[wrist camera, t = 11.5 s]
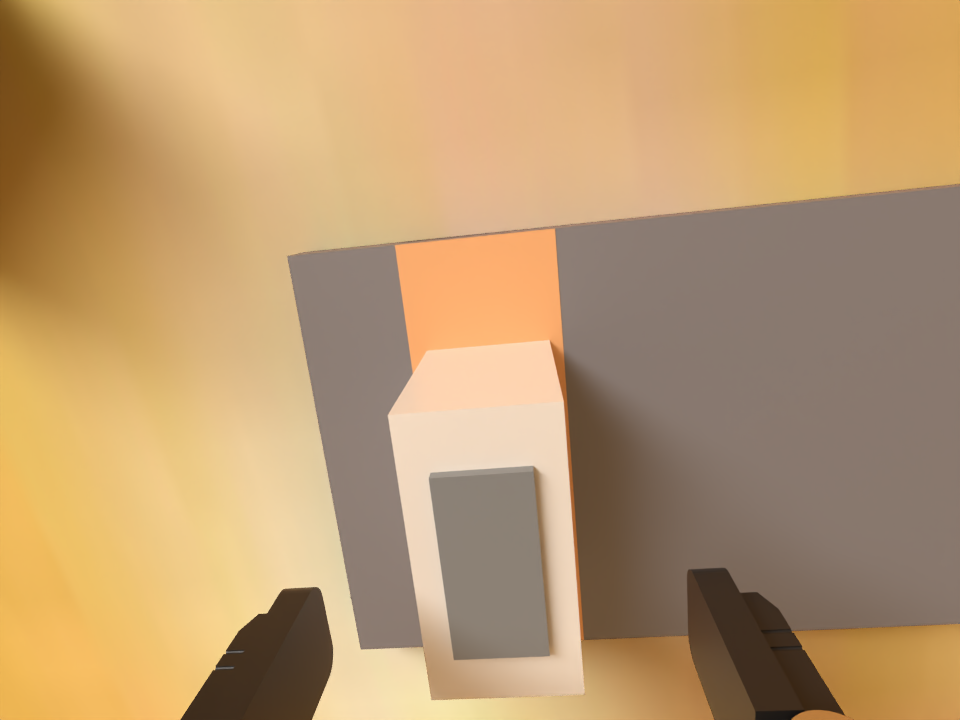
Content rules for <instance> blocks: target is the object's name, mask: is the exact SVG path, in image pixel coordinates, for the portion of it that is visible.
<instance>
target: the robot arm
mask: <svg viewBox="0 0 960 720" xmlns="http://www.w3.org/2000/svg"><path fill="white" fill-rule="evenodd" d="M687 606H688V636H689V644H690V649H691V654H692V658H693V662H694V665H695V668H696V670H697V673H698V676H699V679H700V681H701V684H702V687H703V689H704V692H705V695H706V698H707V700H708V703H709V706H710V709H711V711H712V714H713V717H714V719H715V720H853V719H851V718H849V717H847V716H845V715H844V713H843V711H842V710H841V708H840V707H839V705H838V703H837V702H836V700H835V699H834V697H833V695H832V694H831V692H830V691H829V689H828V687H827V686H826V684H825V682H824V681H823V679H822V678H821V676H820V674H819V673H818V671H817V670H816V668H815V666H814V665H813V663H812V662H811V660H810V658H809V657H808V655H807V654H806V652H805V650H802V646H801V644H800V642H799V641H798V639H797V638H796V636H795V634H794V633H792V631H791V628H790V626H789V625H788V623H787V621H786V620H785V618H784V617H783V615H782V613H781V612H780V610H779V609H778V608H777V607H776V606H774V605H773V604H772V603H771V602H769V601H768V600H767V599H765V598H764V597H763V596H762V595H760V594H759V593H758V592H745V593H740V592H739V590H738V588H737V586H736V584H735V582H734V581H733V579H732V577H731V575H730V573H729V572H728V570H727V569H726V568H705V569H689V570H688V572H687ZM332 662H333V645H332V640H331V635H330V630H329V625H328V621H327V616H326V611H325V606H324V601H323V597H322V593H321V591H320V589H319V588H317V587H311V588H291V589H284V590H282V591H281V592H280V594H279V595H278V597H277V599H276V600H275V602H274V604H273V605H272V607H271V608H270V610H269V612H268V613H267V614H258V615H257V616H256V617H255V618H254V619H253V620H251V621H250V622H249V623H248V624H247V625H246V626H244V627H243V628H242V629H241V630H240V631H239V632H238V633H237V635H236V636H235V638H234V639H233V641H232V642H231V644H230V645H229V647H228V648H227V650H226V654H224V655H223V656H222V658H221V659H220V661H219V662H218V664H217V665H216V669H215V670H213V671H212V673H211V674H210V676H209V677H208V679H207V680H206V682H205V683H204V685H203V686H202V688H201V689H200V691H199V692H198V694H197V696H196V697H195V699H194V700H193V702H192V703H191V705H190V706H189V708H188V709H187V711H186V712H185V714H184V715H183V717H182V718H181V720H312V718H313V715H314V713H315V711H316V708H317V706H318V703H319V701H320V698H321V696H322V693H323V691H324V688H325V686H326V684H327V681H328V679H329V676H330V673H331V669H332Z"/></svg>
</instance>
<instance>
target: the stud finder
mask: <svg viewBox="0 0 960 720" xmlns="http://www.w3.org/2000/svg"><path fill="white" fill-rule="evenodd" d="M388 420H389V427H390V433H391V440H392V446H393V453H394V459H395V466H396V472H397V479H398V485H399V492H400V498H401V505H402V511H403V518H404V524H405V531H406V537H407V544H408V550H409V557H410V563H411V570H412V576H413V583H414V589H415V596H416V602H417V609H418V615H419V622H420V628H421V635H422V641H423V648H424V654H425V661H426V667H427V674H428V680H429V687H430V693H431V700H448V699H477V698H506V697H535V696H564V695H585V692H584V678H583V664H582V650H581V636H580V622H579V608H578V594H577V580H576V566H575V552H574V538H573V524H572V510H571V496H570V482H569V468H568V454H567V440H566V426H565V412H564V401H563V396H562V392H561V388H560V383H559V379H558V375H557V370H556V366H555V362H554V357H553V353H552V349H551V345H550V340H544V341H532V342H521V343H509V344H498V345H486V346H475V347H463V348H452V349H441V350H429V351H426V353H425V355H424V356H423V358H422V360H421V361H420V363H419V365H418V366H417V368H416V370H415V371H414V373H413V374H412V376H411V378H410V379H409V381H408V383H407V384H406V386H405V388H404V389H403V391H402V393H401V394H400V396H399V397H398V399H397V401H396V402H395V404H394V406H393V407H392V409H391V411H390V412H389V414H388Z"/></svg>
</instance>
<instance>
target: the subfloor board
mask: <svg viewBox="0 0 960 720" xmlns="http://www.w3.org/2000/svg"><path fill="white" fill-rule="evenodd" d="M287 257H288V262H289V267H290V273H291V278H292V284H293V289H294V294H295V300H296V305H297V310H298V316H299V321H300V326H301V332H302V337H303V342H304V348H305V353H306V358H307V364H308V369H309V375H310V380H311V385H312V391H313V396H314V401H315V407H316V412H317V417H318V423H319V428H320V433H321V439H322V444H323V450H324V455H325V460H326V466H327V471H328V476H329V482H330V487H331V492H332V498H333V503H334V508H335V514H336V519H337V524H338V530H339V535H340V541H341V546H342V551H343V557H344V562H345V567H346V573H347V578H348V583H349V589H350V594H351V599H352V605H353V610H354V615H355V621H356V626H357V632H358V637H359V642H360V648H361V649H382V648H405V647H423V641H422V635H421V628H420V622H419V615H418V609H417V602H416V596H415V589H414V583H413V576H412V570H411V563H410V557H409V550H408V544H407V537H406V531H405V524H404V518H403V511H402V505H401V498H400V492H399V485H398V479H397V472H396V466H395V459H394V453H393V446H392V440H391V433H390V427H389V420H388V414H389V412H390V411H391V409H392V407H393V406H394V404H395V402H396V401H397V399H398V397H399V396H400V394H401V393H402V391H403V389H404V388H405V386H406V384H407V383H408V381H409V379H410V378H411V376H412V374H413V373H414V371H415V370H416V368H417V366H418V365H419V363H420V361H421V360H422V358H423V356H424V355H425V353H426V351H429V350H441V349H452V348H463V347H475V346H486V345H498V344H509V343H521V342H532V341H544V340H550V345H551V349H552V353H553V357H554V362H555V366H556V370H557V375H558V379H559V383H560V388H561V392H562V396H563V401H564V412H565V426H566V440H567V454H568V468H569V482H570V496H571V510H572V524H573V538H574V552H575V566H576V580H577V594H578V608H579V622H580V636H581V640H592V639H616V638H639V637H663V636H686V635H688V606H687V572H688V570H689V569H705V568H726V569H727V570H728V572H729V573H730V575H731V577H732V579H733V581H734V582H735V584H736V586H737V588H738V590H739V592H740V593H745V592H758V593H759V594H760V595H762V596H763V597H764V598H765V599H767V600H768V601H769V602H771V603H772V604H773V605H774V606H776V607H777V608H778V609H779V610H780V612H781V613H782V615H783V617H784V618H785V620H786V621H787V623H788V625H789V626H790V628H791V631H803V630H826V629H850V628H873V627H896V626H920V625H943V624H960V184H955V185H946V186H936V187H926V188H917V189H907V190H898V191H888V192H878V193H869V194H859V195H850V196H840V197H830V198H821V199H811V200H802V201H792V202H782V203H773V204H763V205H754V206H744V207H734V208H725V209H715V210H706V211H696V212H686V213H677V214H667V215H658V216H648V217H638V218H629V219H619V220H610V221H600V222H591V223H581V224H571V225H562V226H552V227H543V228H533V229H523V230H514V231H504V232H495V233H485V234H475V235H466V236H456V237H447V238H437V239H427V240H418V241H408V242H399V243H389V244H379V245H370V246H360V247H351V248H341V249H331V250H322V251H312V252H303V253H299V254H295V255H291V256H287Z"/></svg>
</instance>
